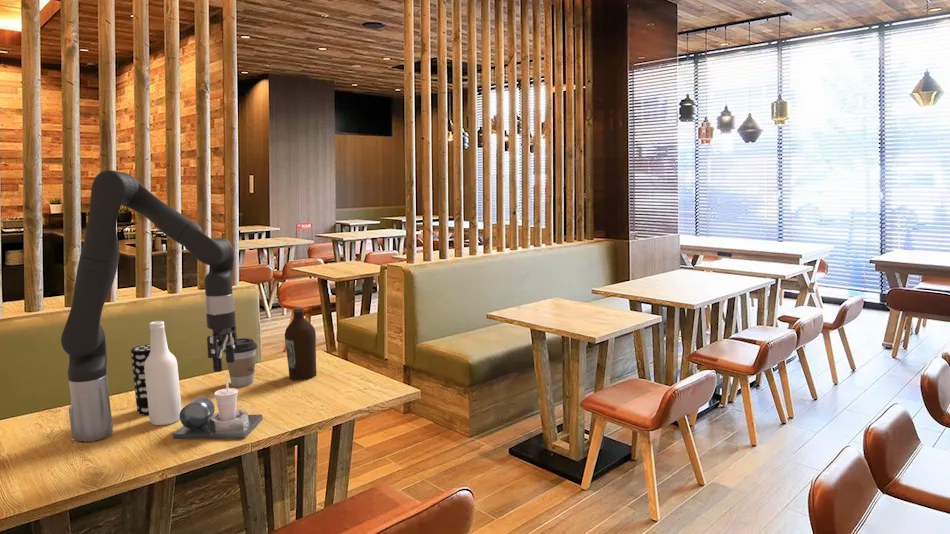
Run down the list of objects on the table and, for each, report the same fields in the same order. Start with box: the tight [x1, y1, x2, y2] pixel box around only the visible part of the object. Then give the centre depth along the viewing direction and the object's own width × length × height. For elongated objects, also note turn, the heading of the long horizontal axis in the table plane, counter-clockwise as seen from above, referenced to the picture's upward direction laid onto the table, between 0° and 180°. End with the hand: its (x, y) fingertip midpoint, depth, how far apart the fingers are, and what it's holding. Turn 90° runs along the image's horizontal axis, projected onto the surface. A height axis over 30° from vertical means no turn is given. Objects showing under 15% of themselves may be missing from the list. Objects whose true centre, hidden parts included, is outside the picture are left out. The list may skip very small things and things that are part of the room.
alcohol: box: [144, 320, 183, 426], centre depth 194 cm, size 9×9×30 cm
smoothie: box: [213, 376, 239, 421], centre depth 187 cm, size 6×6×14 cm
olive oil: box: [284, 306, 317, 381], centre depth 234 cm, size 11×11×25 cm
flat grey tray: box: [172, 396, 264, 440], centre depth 188 cm, size 20×14×8 cm
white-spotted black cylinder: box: [130, 344, 151, 416], centre depth 204 cm, size 8×8×20 cm
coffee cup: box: [222, 337, 258, 388], centre depth 229 cm, size 11×11×15 cm
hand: (224, 366), depth 186 cm, fingers open, 8 cm apart
